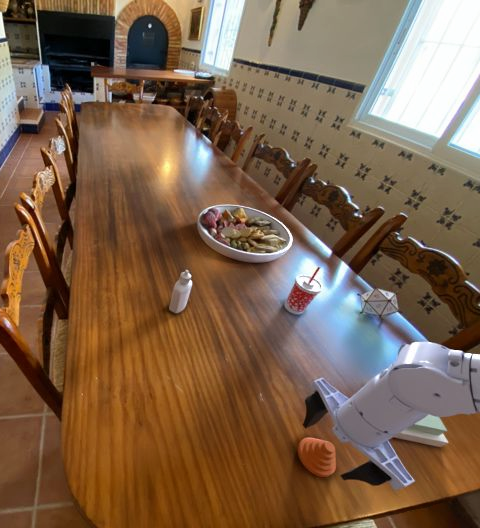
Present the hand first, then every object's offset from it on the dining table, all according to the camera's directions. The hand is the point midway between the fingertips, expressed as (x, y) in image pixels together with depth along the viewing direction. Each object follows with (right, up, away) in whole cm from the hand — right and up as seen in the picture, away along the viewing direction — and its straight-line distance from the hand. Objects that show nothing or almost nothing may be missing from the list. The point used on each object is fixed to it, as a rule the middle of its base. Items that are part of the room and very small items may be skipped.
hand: (326, 448), depth 48 cm
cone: (0, -3, +2) cm, 4 cm away
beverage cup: (+11, +18, +30) cm, 37 cm away
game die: (+31, +17, +30) cm, 47 cm away
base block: (+20, +1, +9) cm, 22 cm away
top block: (+21, +2, +8) cm, 22 cm away
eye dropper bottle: (-19, +19, +27) cm, 39 cm away
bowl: (+6, +38, +53) cm, 65 cm away
